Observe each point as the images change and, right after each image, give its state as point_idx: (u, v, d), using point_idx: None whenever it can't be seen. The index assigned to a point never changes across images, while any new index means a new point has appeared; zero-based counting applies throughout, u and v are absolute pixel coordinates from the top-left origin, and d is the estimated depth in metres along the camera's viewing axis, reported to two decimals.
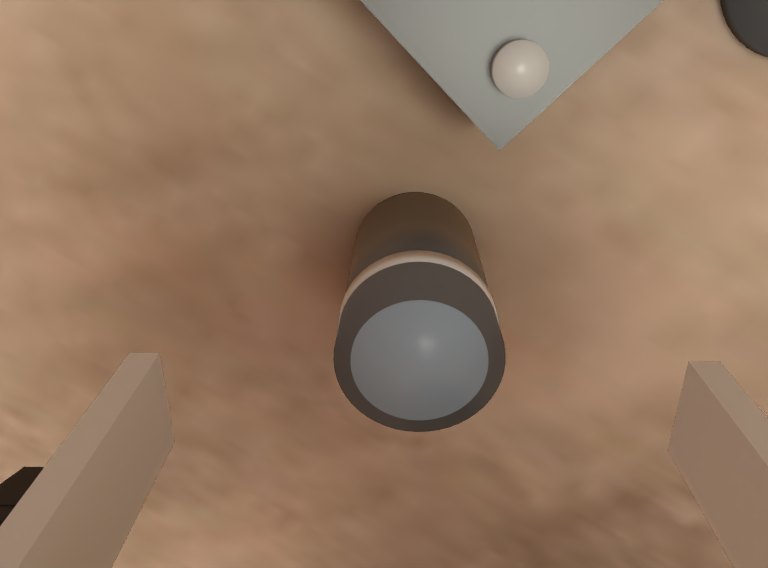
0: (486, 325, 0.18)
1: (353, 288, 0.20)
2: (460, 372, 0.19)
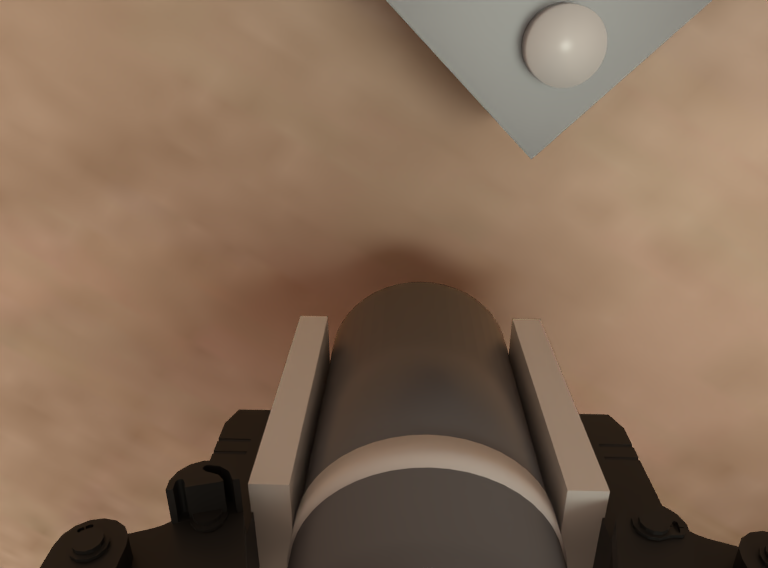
0: None
1: (312, 504, 0.11)
2: None
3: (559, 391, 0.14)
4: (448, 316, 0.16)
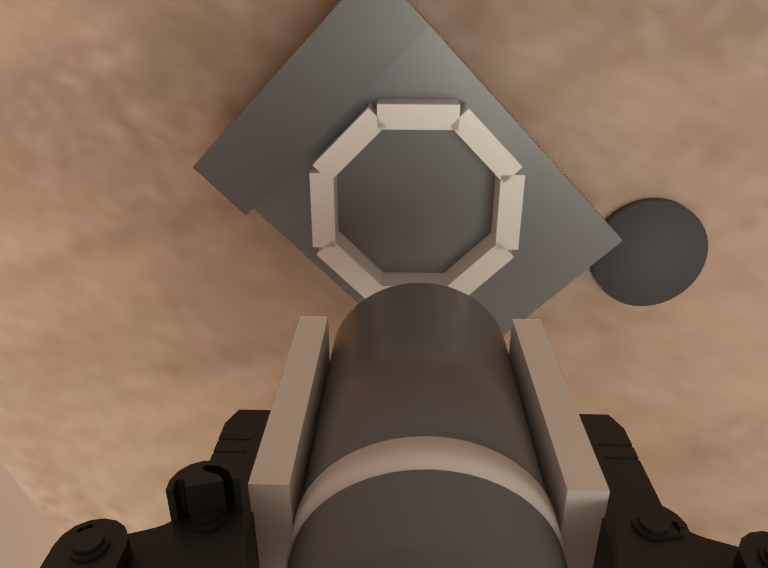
0: None
1: (312, 506, 0.11)
2: None
3: (559, 391, 0.14)
4: (448, 317, 0.16)
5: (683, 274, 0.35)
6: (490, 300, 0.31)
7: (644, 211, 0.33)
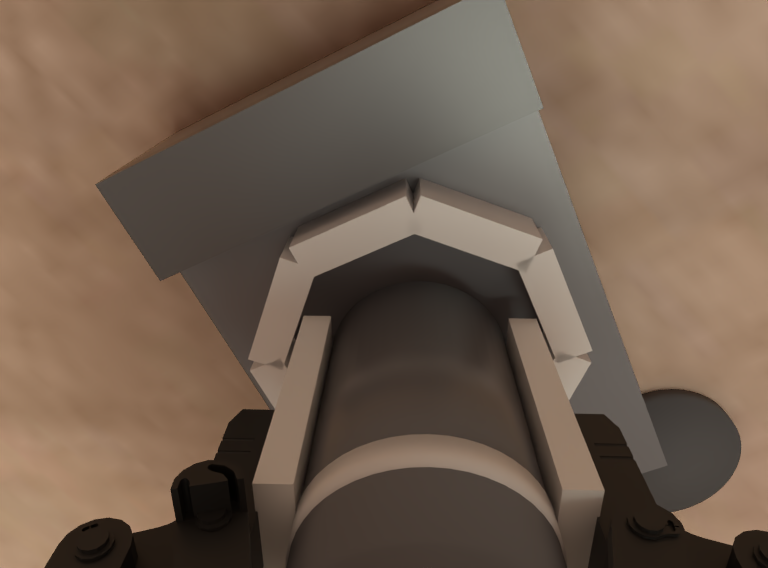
0: None
1: (312, 503, 0.11)
2: None
3: (555, 390, 0.14)
4: (448, 315, 0.16)
5: (694, 490, 0.27)
6: None
7: (682, 408, 0.25)
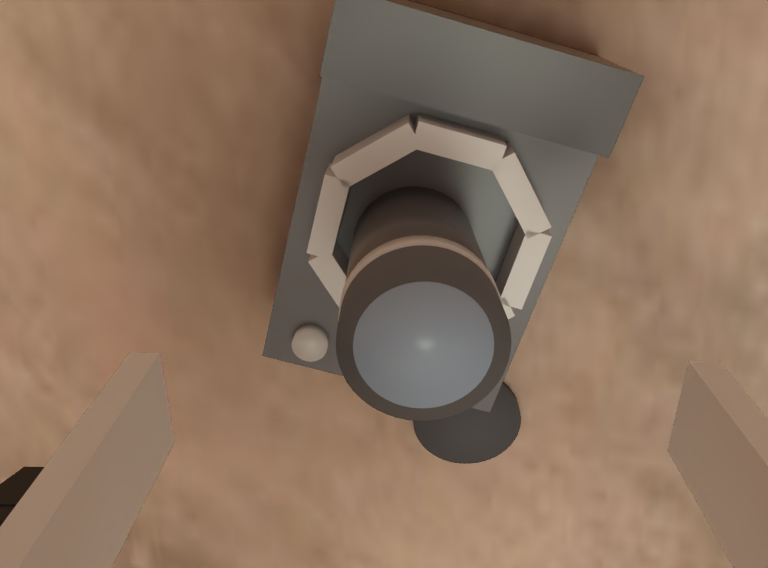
0: (493, 309, 0.18)
1: (356, 271, 0.19)
2: (465, 358, 0.18)
3: None
4: (435, 200, 0.24)
5: (465, 453, 0.37)
6: None
7: (501, 395, 0.35)
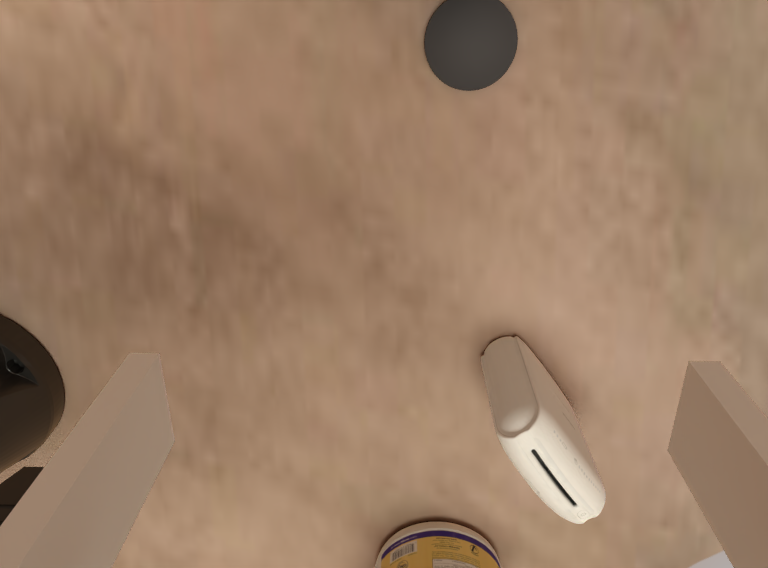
0: None
1: None
2: None
3: None
4: None
5: (469, 78, 0.43)
6: None
7: (501, 12, 0.41)
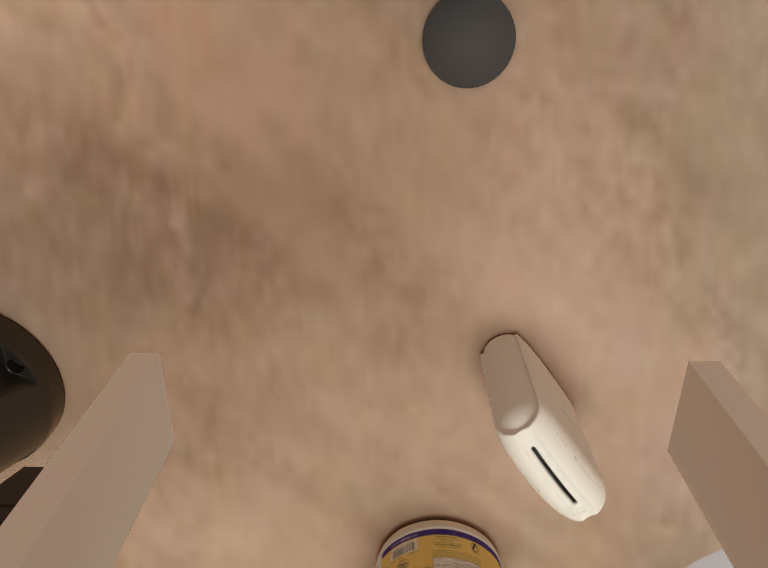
0: None
1: None
2: None
3: None
4: None
5: (467, 76, 0.43)
6: None
7: (499, 9, 0.41)
